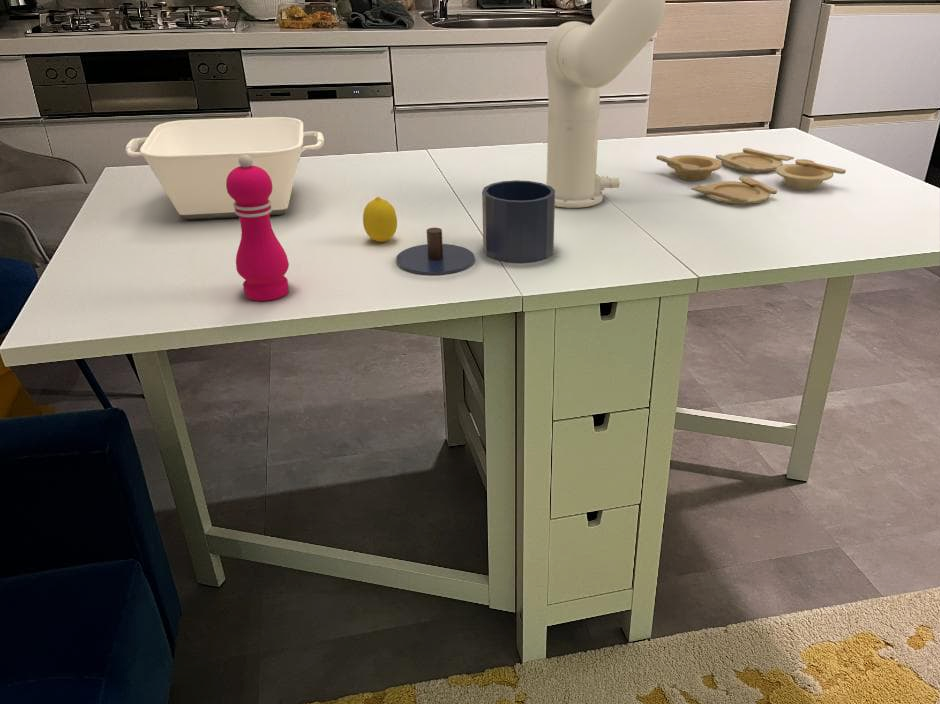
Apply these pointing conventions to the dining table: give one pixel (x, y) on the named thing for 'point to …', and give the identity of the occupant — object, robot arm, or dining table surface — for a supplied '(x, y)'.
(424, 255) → the tin lid
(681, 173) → the tableware set
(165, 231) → the dining table surface
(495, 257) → the tin
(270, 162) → the tub
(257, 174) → the pepper mill
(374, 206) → the lemon
